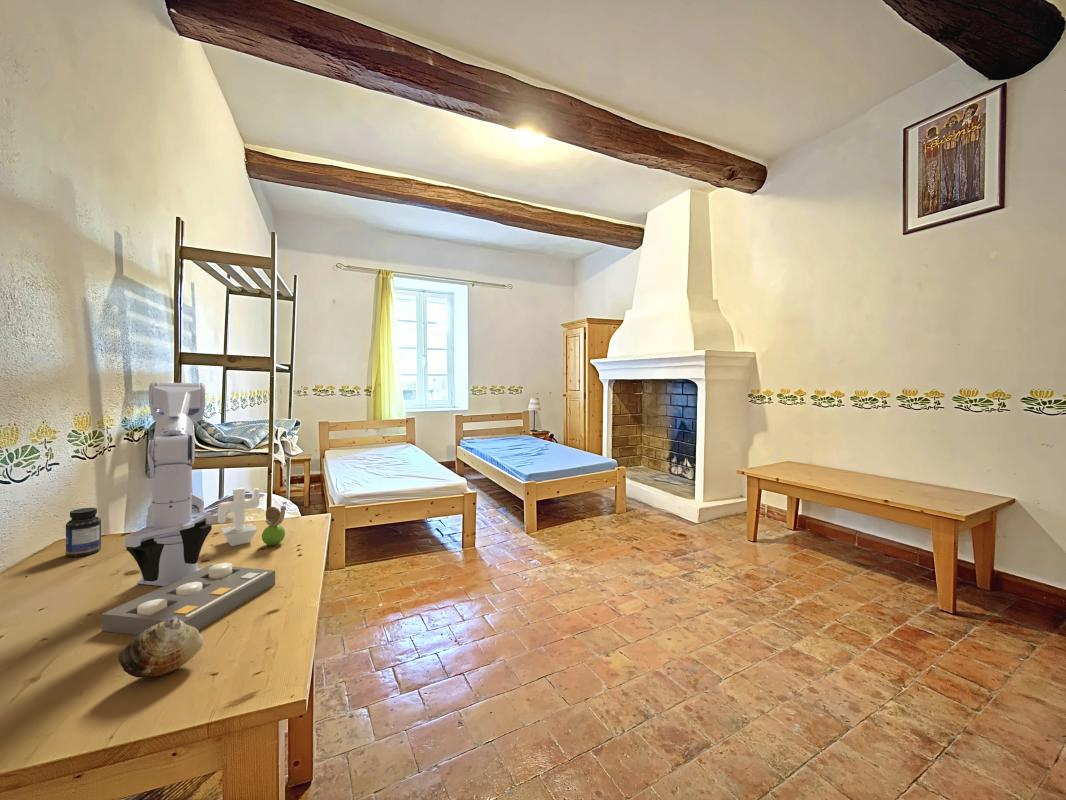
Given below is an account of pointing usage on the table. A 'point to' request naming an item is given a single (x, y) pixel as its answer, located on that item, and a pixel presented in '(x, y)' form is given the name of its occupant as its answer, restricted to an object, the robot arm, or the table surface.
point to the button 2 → (220, 571)
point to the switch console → (191, 600)
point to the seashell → (160, 649)
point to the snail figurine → (274, 526)
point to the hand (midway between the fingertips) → (171, 571)
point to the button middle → (188, 588)
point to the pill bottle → (83, 533)
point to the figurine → (239, 516)
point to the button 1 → (151, 606)
